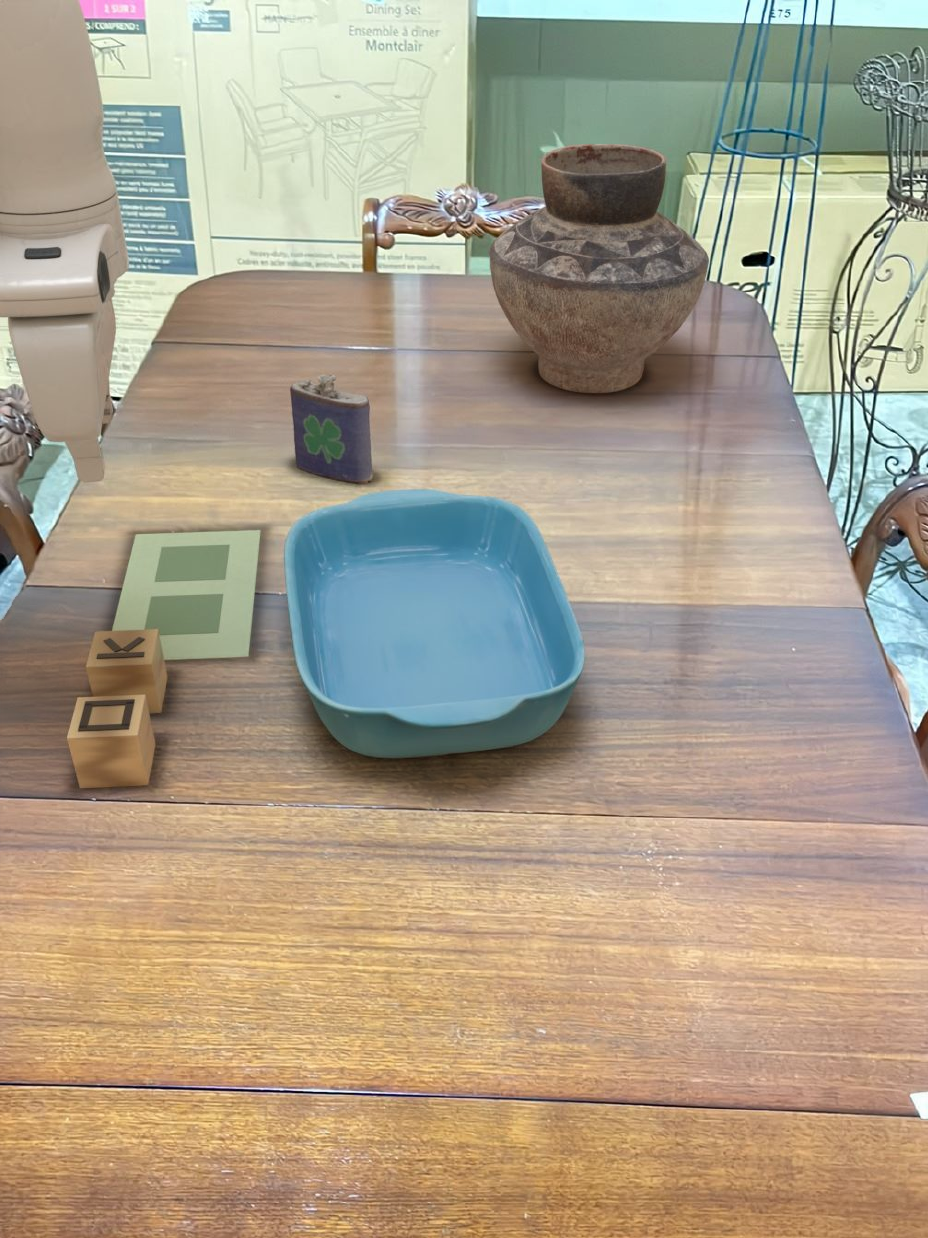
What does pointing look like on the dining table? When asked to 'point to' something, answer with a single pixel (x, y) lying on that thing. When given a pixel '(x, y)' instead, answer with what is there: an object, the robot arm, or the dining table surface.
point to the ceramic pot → (597, 268)
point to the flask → (331, 431)
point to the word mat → (192, 592)
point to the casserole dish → (429, 623)
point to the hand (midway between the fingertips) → (97, 447)
